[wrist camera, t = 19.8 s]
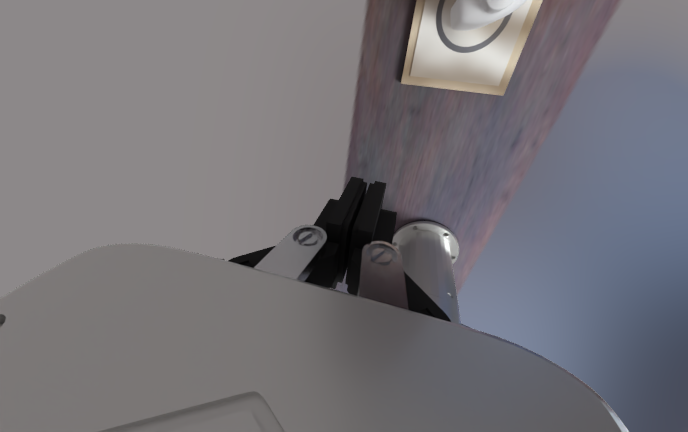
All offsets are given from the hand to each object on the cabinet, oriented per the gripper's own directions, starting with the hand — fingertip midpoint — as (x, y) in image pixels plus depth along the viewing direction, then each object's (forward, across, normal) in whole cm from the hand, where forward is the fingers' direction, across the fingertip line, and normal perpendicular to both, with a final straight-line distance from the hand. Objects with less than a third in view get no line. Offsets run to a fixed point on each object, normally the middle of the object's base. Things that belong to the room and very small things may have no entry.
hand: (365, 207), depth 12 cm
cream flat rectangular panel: (+29, -6, -11) cm, 32 cm away
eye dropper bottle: (+28, -6, -11) cm, 31 cm away
